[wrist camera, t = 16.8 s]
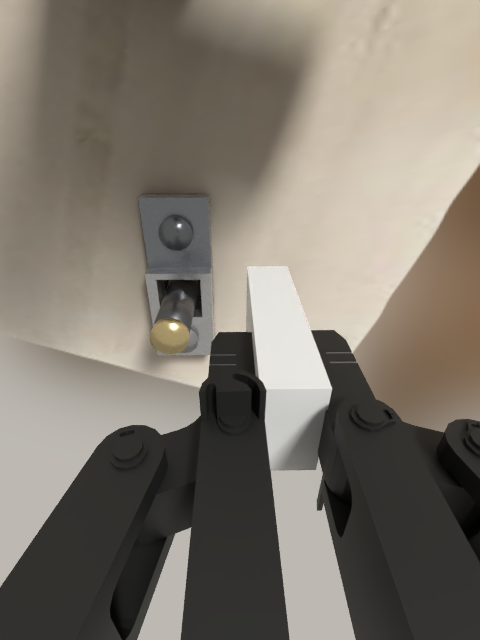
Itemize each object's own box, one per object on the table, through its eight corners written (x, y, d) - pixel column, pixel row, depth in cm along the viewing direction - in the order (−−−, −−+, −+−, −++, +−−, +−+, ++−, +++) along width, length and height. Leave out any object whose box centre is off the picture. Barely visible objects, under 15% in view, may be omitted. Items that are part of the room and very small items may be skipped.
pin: (167, 271, 45) (147, 323, 34) (197, 271, 45) (186, 322, 34) (171, 298, 47) (152, 354, 36) (199, 297, 47) (189, 354, 36)
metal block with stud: (141, 194, 40) (131, 203, 36) (209, 194, 40) (206, 203, 36) (162, 339, 51) (156, 359, 47) (215, 338, 51) (213, 358, 47)
